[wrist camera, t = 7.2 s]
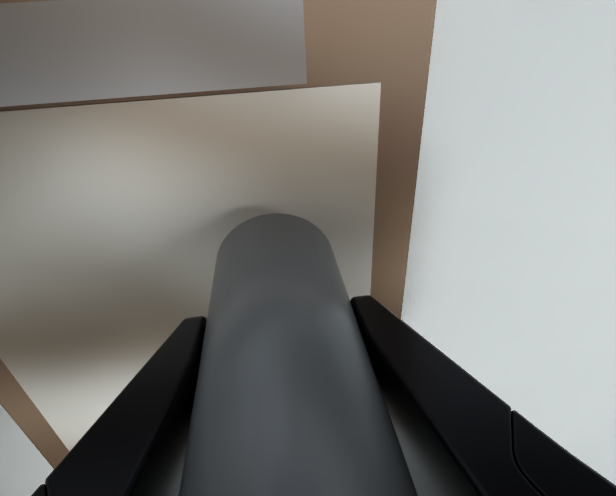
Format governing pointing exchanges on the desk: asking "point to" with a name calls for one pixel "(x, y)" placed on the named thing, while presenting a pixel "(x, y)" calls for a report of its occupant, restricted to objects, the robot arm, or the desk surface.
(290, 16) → the clipboard
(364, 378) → the glue stick
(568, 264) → the desk surface
